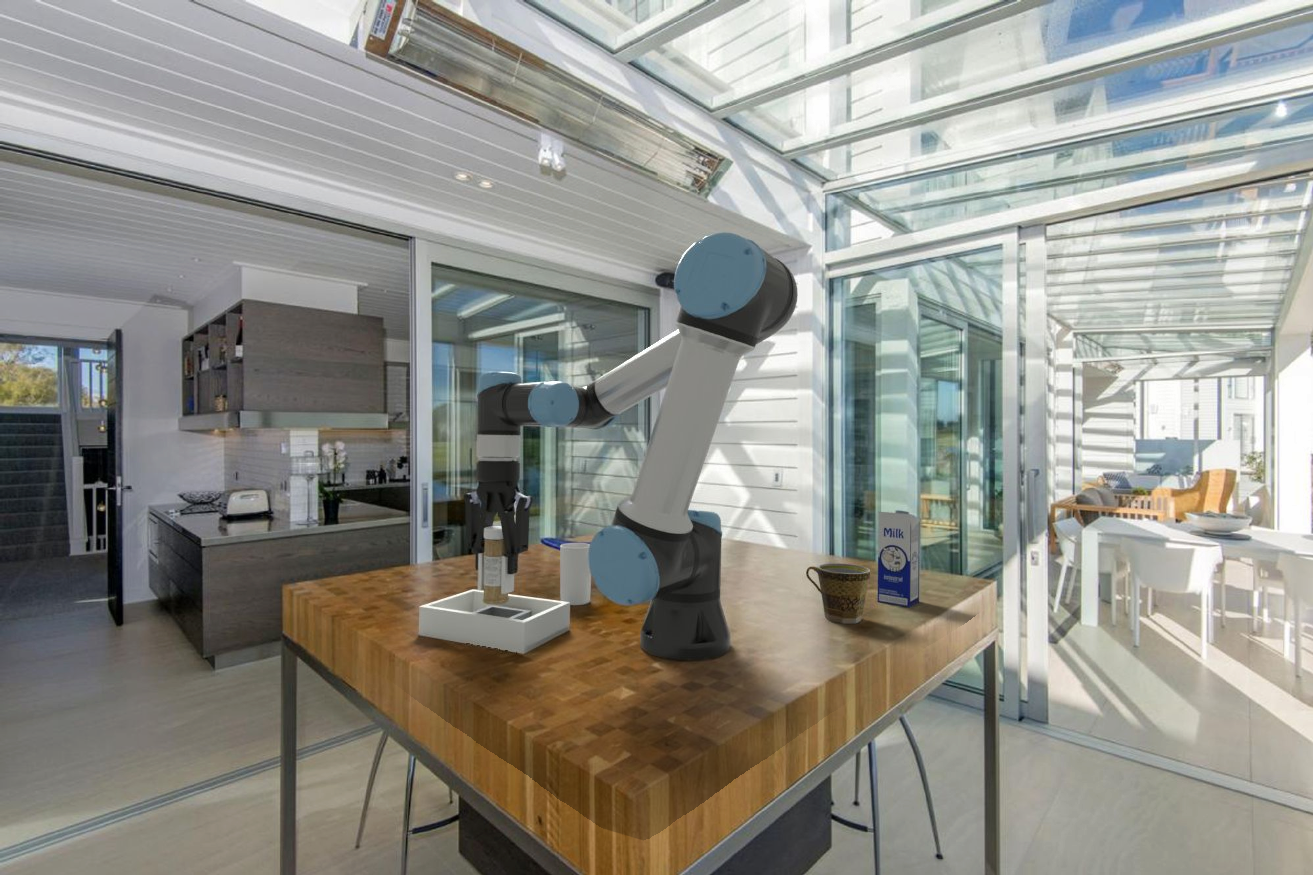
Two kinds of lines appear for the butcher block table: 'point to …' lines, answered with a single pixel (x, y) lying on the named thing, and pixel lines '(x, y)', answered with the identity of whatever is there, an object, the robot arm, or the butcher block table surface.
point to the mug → (575, 573)
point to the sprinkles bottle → (493, 566)
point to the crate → (495, 621)
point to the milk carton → (898, 558)
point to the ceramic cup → (842, 590)
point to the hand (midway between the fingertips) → (495, 590)
